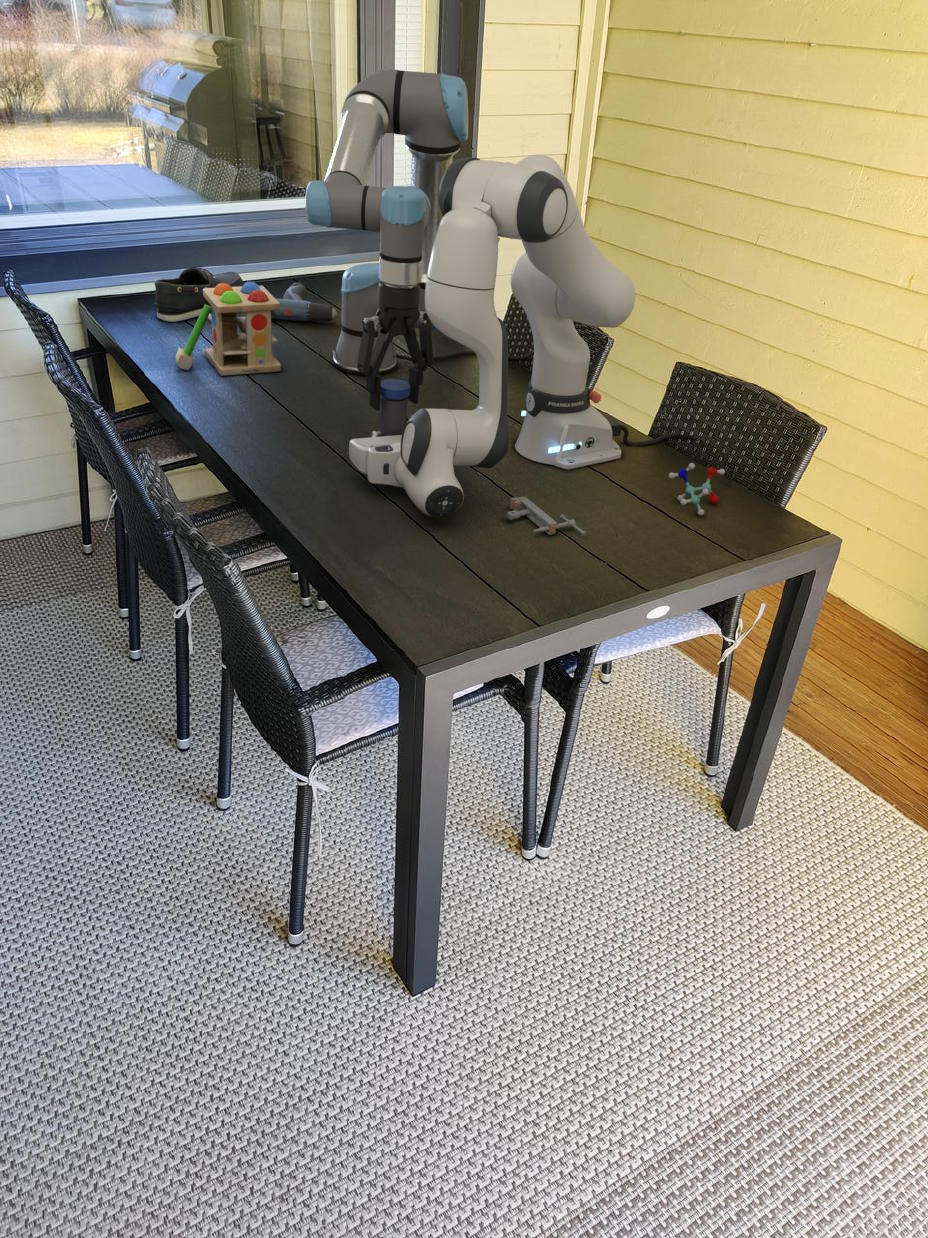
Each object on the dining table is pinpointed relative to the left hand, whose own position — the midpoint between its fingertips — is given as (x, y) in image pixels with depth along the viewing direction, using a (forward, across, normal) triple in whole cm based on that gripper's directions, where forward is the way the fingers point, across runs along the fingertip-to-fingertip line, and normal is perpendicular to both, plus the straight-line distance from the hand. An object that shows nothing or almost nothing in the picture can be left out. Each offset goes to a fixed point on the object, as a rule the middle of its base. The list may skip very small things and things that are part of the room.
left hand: (394, 404), depth 186 cm
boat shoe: (+13, -2, -106) cm, 106 cm away
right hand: (+6, 0, -1) cm, 6 cm away
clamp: (+13, -13, +33) cm, 37 cm away
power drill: (+13, -26, -92) cm, 96 cm away
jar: (+13, 0, 0) cm, 13 cm away
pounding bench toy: (+13, +9, -62) cm, 64 cm away
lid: (-4, 0, 0) cm, 4 cm away
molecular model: (+13, -45, +38) cm, 60 cm away
